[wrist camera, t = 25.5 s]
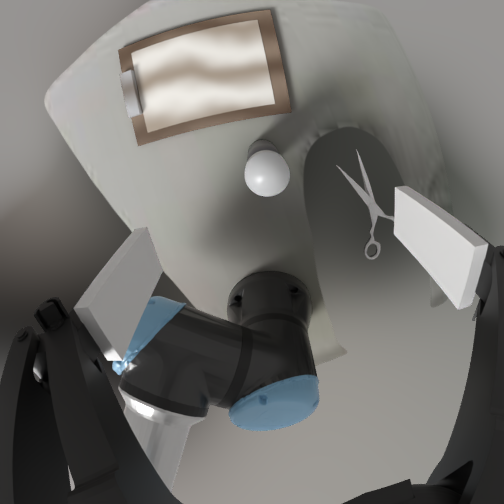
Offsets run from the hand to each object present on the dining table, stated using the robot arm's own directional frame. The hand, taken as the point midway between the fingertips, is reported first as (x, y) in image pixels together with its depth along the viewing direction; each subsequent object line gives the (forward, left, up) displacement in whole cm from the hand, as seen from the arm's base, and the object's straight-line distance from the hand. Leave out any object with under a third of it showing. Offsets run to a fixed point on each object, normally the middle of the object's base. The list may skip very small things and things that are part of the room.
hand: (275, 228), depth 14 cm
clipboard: (+13, +6, -27) cm, 30 cm away
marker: (0, 0, -27) cm, 27 cm away
